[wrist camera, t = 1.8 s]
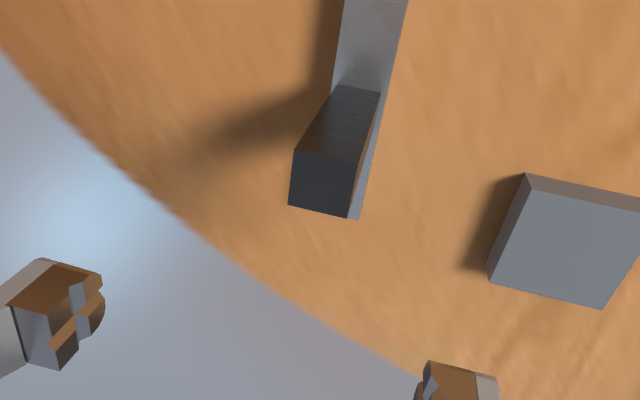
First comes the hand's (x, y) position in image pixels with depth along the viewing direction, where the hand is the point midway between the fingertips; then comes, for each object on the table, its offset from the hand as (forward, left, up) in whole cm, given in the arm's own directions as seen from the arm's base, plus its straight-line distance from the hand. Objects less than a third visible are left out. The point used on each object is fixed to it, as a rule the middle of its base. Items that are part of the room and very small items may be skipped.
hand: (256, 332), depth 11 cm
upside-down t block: (0, 0, -19) cm, 19 cm away
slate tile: (+6, +14, -19) cm, 24 cm away
